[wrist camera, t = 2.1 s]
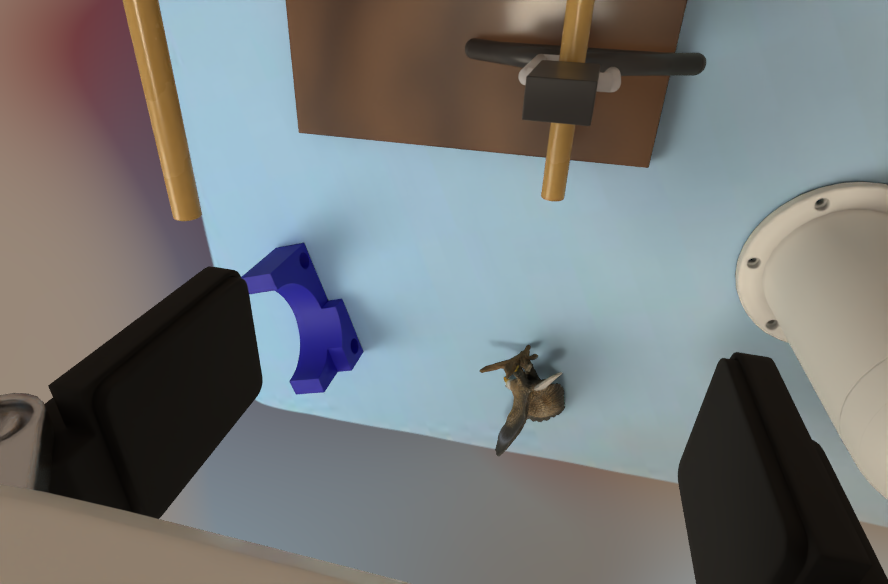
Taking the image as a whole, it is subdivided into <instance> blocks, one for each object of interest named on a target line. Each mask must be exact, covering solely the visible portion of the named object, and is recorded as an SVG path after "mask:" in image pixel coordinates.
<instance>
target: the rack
mask: <svg viewBox="0 0 888 584" xmlns="http://www.w3.org/2000/svg"><path fill="white" fill-rule="evenodd" d="M123 4H124V8H125V13H126V17H127V21H128V25H129V30H130V34H131V38H132V42H133V47H134V51H135V55H136V60H137V64H138V68H139V73H140V77H141V81H142V85H143V89H144V94H145V98H146V102H147V107H148V111H149V115H150V120H151V124H152V128H153V132H154V137H155V141H156V145H157V149H158V154H159V158H160V162H161V167H162V171H163V175H164V179H165V184H166V188H167V192H168V197H169V200H170V205H171V209H172V214H173V218H174V219H175V220H178V221H189V220H194V219H197V218H199V217H201V215H202V212H201V207H200V202H199V197H198V192H197V187H196V182H195V178H194V173H193V168H192V163H191V158H190V153H189V148H188V143H187V138H186V134H185V129H184V124H183V119H182V114H181V109H180V104H179V99H178V94H177V89H176V85H175V80H174V75H173V70H172V65H171V60H170V55H169V50H168V45H167V41H166V36H165V31H164V26H163V21H162V16H161V11H160V6H159V1H158V0H123ZM686 4H687V0H286V9H287V19H288V29H289V39H290V49H291V59H292V69H293V79H294V89H295V99H296V109H297V119H298V129H299V133H307V134H317V135H327V136H337V137H346V138H356V139H366V140H376V141H386V142H396V143H406V144H416V145H426V146H436V147H446V148H456V149H466V150H476V151H486V152H496V153H506V154H516V155H526V156H536V157H545V158H546V162H545V170H544V177H543V185H542V193H541V197H542V198H543V199H545V200H549V201H561V200H563V199H564V196H565V189H566V183H567V176H568V170H569V163H570V160H575V161H585V162H595V163H605V164H615V165H625V166H635V167H645V168H648V167H649V164H650V160H651V155H652V151H653V147H654V142H655V138H656V134H657V129H658V125H659V121H660V116H661V112H662V108H663V103H664V99H665V95H666V90H667V86H668V82H669V77H670V76H621V85H620V87H619V89H618V90H617V91H615V92H598V91H596V97H595V103H594V109H593V115H592V121H591V125H590V126H582V125H571V124H561V123H551V122H540V121H530V120H523V119H522V112H523V102H524V93H525V85H523V84H521V83H520V81H519V72H520V71H521V70H522V69H523V68H522V67H516V66H510V65H504V64H498V63H493V62H487V61H481V60H475V59H471V58H469V57H468V56H467V55H466V53H465V45H466V43H467V42H468V41H469V40H470V39H472V38H477V39H485V40H492V41H499V42H513V43H528V44H543V45H559V46H561V49H560V56H559V61H565V62H579V63H585V60H586V54H587V47H589V48H604V49H619V50H634V51H650V52H665V53H675V51H676V47H677V43H678V38H679V34H680V30H681V26H682V21H683V17H684V13H685V8H686Z"/></svg>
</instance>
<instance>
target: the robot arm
mask: <svg viewBox="0 0 888 584" xmlns="http://www.w3.org/2000/svg"><path fill="white" fill-rule="evenodd" d="M821 198H822V200H821V201H820V202H819V203H816V202H817V200H819V199H821ZM751 258H754V259H753V260H749V259H751ZM735 277H736V289H737V292H738V295H739V298H740V301H741V303H742V305H743V307H744V309H745V311H746V313H747V314H748V316H749V317H750V318H751V319H752V321H753V322H754V323H755V324H756V325H757V326H758V327H759V328H761V329H762V330H763V331H764V332H766V333H768V334H769V335H771V336H773V337H775V338H777V339H779V340H781V341H785V342H788V343H789V344H790V346H791V347H792V349H793V351H794V353H795V355H796V357H797V358H798V360H799V362H800V364H801V366H802V368H803V369H804V371H805V373H806V375H807V377H808V379H809V380H810V382H811V384H812V386H813V388H814V390H815V391H816V393H817V395H818V397H819V399H820V401H821V402H822V404H823V406H824V408H825V410H826V412H827V414H828V415H829V417H830V419H831V421H832V423H833V425H834V426H835V428H836V430H837V432H838V434H839V436H840V437H841V439H842V441H843V443H844V445H845V446H846V448H847V449H848V451H849V453H850V455H851V457H852V458H853V460H854V462H855V464H856V465H857V467H858V468H859V470H860V471H861V473H862V474H863V475H864V477H865V478H866V479H867V480H868V482H869V483H870V484H871V485H872V486H873V487H874V488H875V489H876V490H877V491H878V492H879V493H880V494H882V495H883V496H884V497H885V498H887V499H888V185H886V184H881V183H871V182H851V183H840V184H835V185H830V186H826V187H821V188H818V189H815V190H813V191H810V192H807V193H805V194H802V195H800V196H798V197H796V198H794V199H792V200H791V201H789V202H787V203H785V204H783V205H782V206H780V207H779V208H778V209H776V210H775V211H774V212H772V213H771V214H770V215H768V216H767V217H766V218H765V219H764V220H763V221H762V222H761V223H760V224H759V225H758V226H757V227H756V228H755V230H754V231H753V232H752V234H751V235H750V237H749V238H748V240H747V241H746V243H745V244H744V246H743V248H742V251H741V253H740V256H739V258H738V262H737V268H736V273H735ZM770 320H771V321H770ZM261 387H262V372H261V366H260V360H259V354H258V347H257V341H256V335H255V329H254V322H253V316H252V310H251V304H250V297H249V291H248V286H247V282H246V281H245V280H244V279H242V278H241V276H240V274H239V273H238V272H237V271H235V270H230V269H224V268H217V267H207V268H205V269H203V270H202V271H201V272H199V273H198V274H197V275H195V276H194V277H193V278H191V279H190V280H189V281H187V282H186V283H185V284H183V285H182V286H181V287H179V288H178V289H177V290H175V291H174V292H173V293H171V294H170V295H169V296H167V297H166V298H165V299H163V300H162V301H161V302H159V303H158V304H157V305H155V306H154V307H153V308H151V309H150V310H149V311H147V312H146V313H145V314H143V315H142V316H141V317H139V318H138V319H137V320H135V321H134V322H133V323H131V324H130V325H129V326H127V327H126V328H125V329H123V330H122V331H121V332H119V333H118V334H117V335H115V336H114V337H113V338H112V339H110V340H109V341H107V342H106V343H105V344H103V345H102V346H101V347H99V348H98V349H97V350H95V351H94V352H93V353H91V354H90V355H89V356H87V357H86V358H85V359H83V360H82V361H81V362H79V363H78V364H76V365H75V366H74V367H73V368H71V369H70V370H68V371H67V372H66V373H65V374H63V375H62V376H61V377H59V378H58V379H56V380H55V381H54V382H52V383H51V384H50V385H49V389H50V391H51V393H52V396H53V398H52V399H51V400H49V401H48V402H47V403H45V404H44V402H43V401H41V400H40V399H39V398H38V397H37V396H34V395H30V394H24V393H12V394H5V395H0V584H411V583H407V582H403V581H399V580H396V579H392V578H388V577H384V576H380V575H376V574H373V573H369V572H365V571H361V570H357V569H353V568H349V567H345V566H342V565H338V564H334V563H330V562H326V561H322V560H318V559H314V558H310V557H307V556H302V555H299V554H295V553H290V552H287V551H283V550H279V549H275V548H271V547H268V546H263V545H260V544H256V543H251V542H247V541H244V540H240V539H236V538H232V537H228V536H224V535H220V534H216V533H212V532H208V531H204V530H200V529H196V528H192V527H188V526H184V525H180V524H176V523H172V522H168V521H164V520H160V519H159V518H160V517H161V516H162V515H163V514H164V512H165V511H166V510H167V509H168V507H169V506H170V505H171V503H172V502H173V501H174V500H175V499H176V497H177V496H178V495H179V493H180V492H181V491H182V489H184V487H185V486H186V485H187V483H188V482H189V481H190V480H191V478H192V477H193V476H194V475H195V474H196V472H197V471H198V469H199V468H200V467H201V466H202V465H203V463H204V462H205V461H206V460H207V458H208V457H209V456H210V455H211V453H212V452H213V451H214V450H215V448H216V447H217V446H218V445H219V443H220V442H221V441H222V440H223V438H224V437H225V436H226V435H227V433H228V432H229V431H230V430H231V428H232V427H233V426H234V425H235V423H236V422H237V421H238V420H239V418H240V417H241V416H242V414H243V413H244V412H245V411H246V409H247V408H248V407H249V406H250V405H251V403H252V402H253V401H254V400H255V398H256V397H257V396H258V394H259V392H260V390H261ZM678 483H679V489H680V495H681V500H682V506H683V512H684V517H685V523H686V528H687V534H688V540H689V545H690V551H691V557H692V562H693V568H694V574H695V579H696V584H888V579H887V577H886V575H885V573H884V571H883V569H882V567H881V565H880V563H879V561H878V559H877V557H876V555H875V553H874V550H873V548H872V546H871V544H870V542H869V540H868V539H867V537H866V534H865V532H864V530H863V528H862V526H861V525H860V522H859V520H858V518H857V516H856V514H855V512H854V510H853V508H852V506H851V504H850V502H849V500H848V498H847V496H846V494H845V492H844V490H843V488H842V486H841V484H840V482H839V480H838V478H837V476H836V474H835V472H834V470H833V468H832V466H831V464H830V462H829V460H828V458H827V456H826V454H825V452H824V450H823V449H822V448H821V446H820V445H819V444H818V443H817V442H815V441H813V440H812V439H811V437H810V435H809V433H808V431H807V429H806V427H805V425H804V423H803V420H802V418H801V416H800V414H799V412H798V410H797V408H796V406H795V404H794V402H793V400H792V398H791V396H790V394H789V391H788V389H787V387H786V385H785V383H784V381H783V379H782V377H781V375H780V373H779V371H778V369H777V367H776V365H775V363H774V361H773V360H772V359H771V358H769V357H763V356H757V355H751V354H745V353H739V352H736V353H733V355H732V356H731V357H730V359H726V358H722V359H720V361H719V362H718V364H717V367H716V369H715V372H714V374H713V377H712V380H711V382H710V385H709V387H708V390H707V393H706V395H705V398H704V400H703V403H702V406H701V408H700V411H699V414H698V416H697V419H696V421H695V424H694V427H693V429H692V432H691V434H690V437H689V440H688V442H687V445H686V447H685V450H684V453H683V455H682V458H681V460H680V464H679V469H678Z"/></svg>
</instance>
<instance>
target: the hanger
mask: <svg viewBox="0 0 888 584" xmlns="http://www.w3.org/2000/svg"><path fill="white" fill-rule="evenodd" d="M560 49H561V46H559V45H543V44H528V43H513V42H499V41H492V40H485V39H477V38H472V39H470V40H469V41H468V42H467V43H466V45H465V53H466V55H467V56H468V57H469V58H471V59H475V60H481V61H487V62H493V63H498V64H504V65H510V66H516V67H522V68H523V69H522V70H521V71H520V72H519V81H520V83H521V84H523V85H525V93H524V102H523V112H522V119H523V120H530V121H540V122H551V123H561V124H571V125H582V126H590V125H591V121H592V115H593V109H594V103H595V97H596V91H598V92H615V91H617V90H618V89H619V87H620V85H621V76H674V75H697V74H699V73H701V72H702V71H703V70H704V68H705V66H706V58H705V57H704V55H702V54H701V53H665V52H650V51H634V50H619V49H604V48H589V47H587V54H586V60H585V63H579V62H565V61H559V56H560Z"/></svg>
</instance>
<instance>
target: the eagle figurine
mask: <svg viewBox="0 0 888 584" xmlns="http://www.w3.org/2000/svg"><path fill="white" fill-rule="evenodd" d="M530 348H531V346H530V345H527V346H526V348H525V350H524V351H521V352H520V354H518V355H516V356H515V357H513V358H511V359H509V360H505V361H502V362H498V363H495V364H492V365H488V366H485V367H484V368H482V369H481V370H480V372H481V373H483V372H488V371H493V370H497V369H500V368H502V369H504V371H505V373H506V377H504V381H505V382H506V385H505V386H506V387H507V388H508V389H510V390H511V391H512V393H513V396H514V401H513V407H512V410H511V412H510V413H509V415H508V417H507V420H506V423H505V425H504V426H503V427H502V429H501V431H500V433H499V435H498V441H497V445H496V449H495V450H496V454H497V456H500V455H501V454H502V453H503V452H505V450H507V448H508V447H509V446H510V445H511V443H512V442H513V441H514V440H515V439H516V437H517V436H518V435H519V433H520V432H521V431H522V428H523V427H524V424H525V423H526V420H527V419H531V420H532V421H533V422H534V421H538V422H542V421H543V420H546V421H547V420H549V419H550V417H555V416H556V415H559V414H560V413H561V412H562V411H563V410H564V408H565V406H564V405H565V402H564V396H563V395H564V390H563V388H562V387H561V385H560V384H558V383H556V384H551V383H552V382H553V381H554V380H555V379H556V378H557V377H558V376H560V375H561V374H562V372H559V373H557V374H555V375H553V376H550V377H549V378H547V379H542V380H541V379H540V378H539V377H538V375H537V373H536V370H535V369H534V367H533V364H532V363H531V361H530V360H534V359H536V358H537V357H538V355H537V354H533V355H532V356H529V353H530V351H529V350H530ZM522 368H523V369H525V372H524V371H523V369H522ZM512 374H513V375H514V376H515V377H516V379H508V378H509V377H510V376H511V375H512Z"/></svg>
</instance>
